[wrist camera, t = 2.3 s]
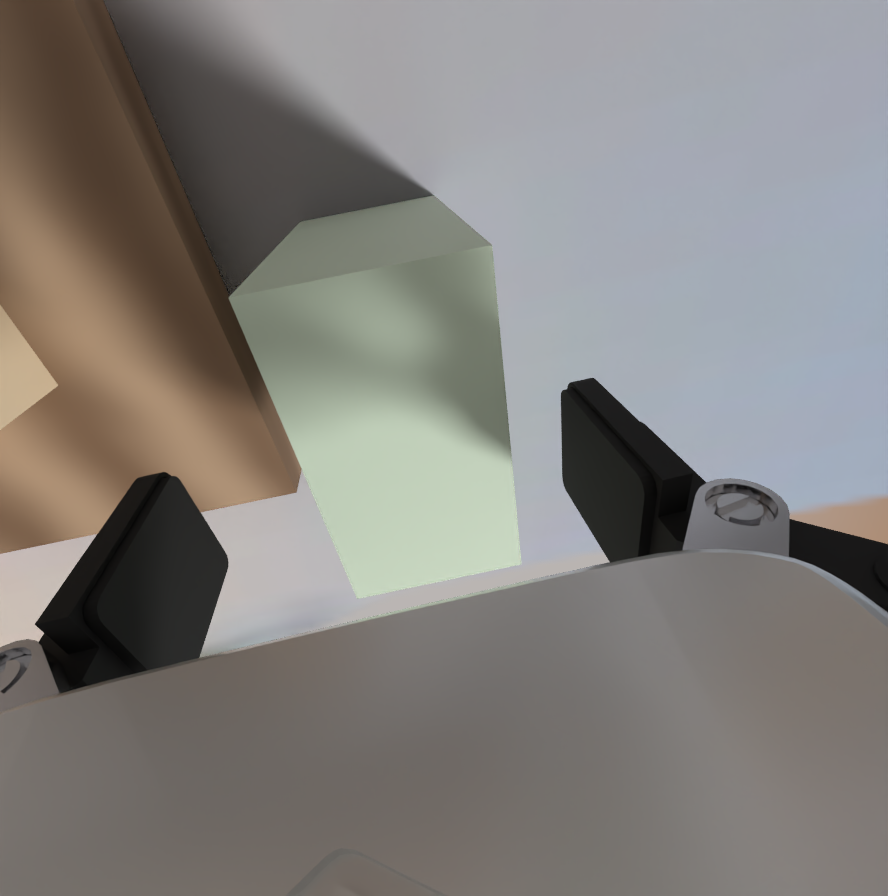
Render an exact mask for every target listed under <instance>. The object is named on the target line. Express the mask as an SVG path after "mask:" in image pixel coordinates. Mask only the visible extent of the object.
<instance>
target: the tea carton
mask: <svg viewBox="0 0 888 896" xmlns="http://www.w3.org/2000/svg"><path fill="white" fill-rule="evenodd" d="M228 298H229V301H230V303H231V305H232V308H233V310H234V312H235V315H236V317H237V319H238V322H239V324H240V326H241V329H242V331H243V333H244V336H245V338H246V340H247V343H248V345H249V347H250V350H251V352H252V354H253V357H254V359H255V361H256V364H257V366H258V368H259V371H260V373H261V375H262V378H263V380H264V382H265V385H266V387H267V389H268V392H269V394H270V396H271V399H272V401H273V403H274V406H275V408H276V410H277V413H278V415H279V417H280V420H281V422H282V424H283V427H284V429H285V431H286V434H287V436H288V438H289V441H290V443H291V445H292V448H293V450H294V452H295V455H296V457H297V459H298V462H299V464H300V466H301V469H302V471H303V473H304V476H305V478H306V480H307V483H308V485H309V487H310V490H311V492H312V494H313V497H314V499H315V501H316V504H317V506H318V508H319V511H320V513H321V515H322V518H323V520H324V522H325V525H326V527H327V529H328V532H329V534H330V536H331V539H332V541H333V543H334V546H335V548H336V550H337V553H338V555H339V557H340V560H341V562H342V564H343V567H344V569H345V571H346V574H347V576H348V578H349V581H350V583H351V585H352V588H353V590H354V592H355V595H356V597H357V599H360V598H364V597H369V596H374V595H379V594H383V593H388V592H393V591H397V590H402V589H407V588H412V587H416V586H421V585H426V584H431V583H435V582H440V581H445V580H450V579H454V578H459V577H464V576H469V575H473V574H478V573H483V572H487V571H492V570H497V569H502V568H506V567H511V566H516V565H521V555H520V544H519V533H518V522H517V511H516V500H515V489H514V479H513V468H512V457H511V446H510V435H509V424H508V414H507V403H506V392H505V381H504V370H503V359H502V348H501V338H500V327H499V316H498V305H497V294H496V283H495V273H494V262H493V251H492V245H491V244H490V243H489V242H488V241H487V240H485V239H484V238H483V237H482V236H481V235H480V234H478V233H477V232H476V231H475V230H474V229H473V228H471V227H470V226H469V225H468V224H467V223H466V222H464V221H463V220H462V219H461V218H460V217H459V216H457V215H456V214H455V213H454V212H453V211H452V210H450V209H449V208H448V207H447V206H446V205H445V204H443V203H442V202H441V201H440V200H439V199H438V198H436V197H435V196H434V195H433V196H428V197H423V198H418V199H412V200H407V201H402V202H397V203H392V204H387V205H382V206H377V207H372V208H367V209H362V210H357V211H352V212H347V213H342V214H337V215H331V216H326V217H321V218H316V219H311V220H306V221H301V222H299V224H298V225H297V226H296V227H295V228H294V229H293V230H292V231H291V232H290V233H289V234H288V235H287V236H286V237H285V238H284V239H283V240H282V241H281V243H280V244H279V245H278V246H277V247H276V248H275V249H274V250H273V251H272V252H271V253H270V254H269V255H268V256H267V257H266V258H265V259H264V260H263V262H262V263H261V264H260V265H259V266H258V267H257V268H256V269H255V270H254V271H253V272H252V273H251V274H250V275H249V276H248V277H247V278H246V280H245V281H244V282H243V283H242V284H241V285H240V286H239V287H238V288H237V289H236V290H235V291H234V292H233V293H232V294H231V295H230V296H229V297H228Z"/></svg>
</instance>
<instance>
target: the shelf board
mask: <svg viewBox="0 0 888 896" xmlns="http://www.w3.org/2000/svg"><path fill="white" fill-rule="evenodd" d="M228 297H229V294H228V292H227V290H226V287H225V285H224V283H223V280H222V278H221V276H220V273H219V271H218V269H217V266H216V264H215V262H214V259H213V257H212V255H211V252H210V250H209V247H208V245H207V243H206V240H205V238H204V236H203V233H202V231H201V229H200V226H199V224H198V222H197V219H196V217H195V215H194V212H193V210H192V208H191V205H190V203H189V201H188V198H187V196H186V194H185V191H184V189H183V187H182V184H181V182H180V179H179V177H178V175H177V172H176V170H175V168H174V165H173V163H172V161H171V158H170V156H169V154H168V151H167V149H166V147H165V144H164V142H163V140H162V137H161V135H160V133H159V130H158V128H157V126H156V123H155V121H154V119H153V116H152V114H151V111H150V109H149V107H148V104H147V102H146V100H145V97H144V95H143V93H142V90H141V88H140V86H139V83H138V81H137V79H136V76H135V74H134V72H133V69H132V67H131V65H130V62H129V60H128V58H127V55H126V53H125V51H124V48H123V46H122V44H121V41H120V39H119V36H118V34H117V32H116V29H115V27H114V25H113V22H112V20H111V18H110V15H109V13H108V11H107V8H106V6H105V4H104V1H103V0H0V305H1V306H2V308H3V309H4V311H5V312H6V313H7V315H8V316H9V318H10V319H11V320H12V322H13V323H14V325H15V326H16V327H17V329H18V330H19V331H20V333H21V334H22V336H23V337H24V338H25V340H26V341H27V343H28V344H29V345H30V347H31V348H32V349H33V351H34V352H35V354H36V355H37V356H38V358H39V359H40V361H41V362H42V363H43V365H44V366H45V368H46V369H47V370H48V372H49V373H50V374H51V376H52V377H53V379H54V380H55V381H56V383H57V384H58V386H57V387H56V388H54V389H53V390H52V391H51V392H49V393H48V394H47V395H45V396H44V397H43V398H41V399H40V400H39V401H37V402H36V403H35V404H34V405H32V406H31V407H30V408H28V409H27V410H26V411H24V412H23V413H22V414H20V415H19V416H18V417H17V418H15V419H14V420H13V421H11V422H10V423H9V424H7V425H6V426H5V427H4V428H2V429H1V430H0V554H1V553H6V552H11V551H16V550H21V549H26V548H30V547H35V546H40V545H45V544H50V543H55V542H59V541H64V540H69V539H74V538H79V537H84V536H88V535H93V534H98V533H99V531H100V530H101V528H102V527H103V525H104V524H105V523H106V521H107V520H108V518H109V517H110V515H111V514H112V512H113V511H114V510H115V508H116V507H117V505H118V504H119V502H120V501H121V500H122V498H123V497H124V495H125V494H126V492H127V491H128V489H129V488H130V487H131V485H132V484H133V482H134V481H135V480H136V479H137V478H139V477H143V476H147V475H152V474H156V473H161V472H166V473H168V474H170V475H171V476H176V477H178V478H179V479H180V481H181V482H182V484H183V485H184V487H185V488H186V490H187V492H188V493H189V495H190V496H191V498H192V500H193V501H194V503H195V505H196V506H197V508H198V509H199V511H200V512H204V511H209V510H214V509H219V508H224V507H228V506H233V505H238V504H243V503H248V502H252V501H257V500H262V499H267V498H272V497H277V496H281V495H286V494H291V493H296V492H297V487H298V483H299V478H300V474H301V466H300V464H299V462H298V459H297V457H296V455H295V452H294V450H293V448H292V445H291V443H290V441H289V438H288V436H287V434H286V431H285V429H284V427H283V424H282V422H281V420H280V417H279V415H278V413H277V410H276V408H275V406H274V403H273V401H272V399H271V396H270V394H269V392H268V389H267V387H266V385H265V382H264V380H263V378H262V375H261V373H260V371H259V368H258V366H257V364H256V361H255V359H254V357H253V354H252V352H251V350H250V347H249V345H248V343H247V340H246V338H245V336H244V333H243V331H242V329H241V326H240V324H239V322H238V319H237V317H236V315H235V312H234V310H233V308H232V305H231V303H230V301H229V298H228Z"/></svg>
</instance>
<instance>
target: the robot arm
mask: <svg viewBox="0 0 888 896" xmlns="http://www.w3.org/2000/svg"><path fill="white" fill-rule="evenodd" d="M561 424H562V477H563V483H564V486H565V489H566V491H567V493H568V494H569V496H570V498H571V499H572V501H573V503H574V504H575V506H576V507H577V509H578V511H579V512H580V514H581V516H582V517H583V519H584V521H585V522H586V524H587V525H588V527H589V529H590V530H591V532H592V534H593V535H594V537H595V539H596V540H597V542H598V543H599V545H600V547H601V548H602V550H603V552H604V553H605V555H606V557H607V558H608V560H609V561H610V563H605V564H600V565H595V566H590V567H586V568H582V569H577V570H573V571H569V572H564V573H560V574H555V575H550V576H546V577H541V578H537V579H532V580H528V581H524V582H519V583H515V584H511V585H506V586H502V587H498V588H493V589H489V590H485V591H480V592H476V593H472V594H468V595H463V596H459V597H454V598H450V599H446V600H441V601H437V602H432V603H428V604H424V605H420V606H416V607H411V608H407V609H403V610H398V611H394V612H390V613H386V614H381V615H377V616H373V617H369V618H364V619H360V620H356V621H352V622H347V623H343V624H339V625H335V626H331V627H326V628H322V629H318V630H314V631H309V632H305V633H301V634H297V635H292V636H288V637H284V638H280V639H276V640H272V641H267V642H263V643H259V644H255V645H251V646H247V647H243V648H238V649H234V650H230V651H226V652H222V653H218V654H214V655H209V656H205V657H201V658H199V657H200V653H201V650H202V647H203V644H204V641H205V638H206V635H207V632H208V629H209V625H210V622H211V619H212V616H213V613H214V610H215V607H216V604H217V601H218V597H219V594H220V591H221V588H222V585H223V582H224V579H225V576H226V573H227V569H228V558H227V555H226V553H225V551H224V549H223V548H222V546H221V545H220V543H219V541H218V540H217V538H216V537H215V535H214V533H213V532H212V530H211V529H210V527H209V525H208V524H207V522H206V521H205V519H204V517H203V516H202V514H201V513H200V511H199V509H198V508H197V506H196V505H195V503H194V501H193V500H192V498H191V496H190V495H189V493H188V492H187V490H186V488H185V487H184V485H183V484H182V482H181V481H180V479H179V478H178V477H176V476H171V475H170V474H168V473H166V472H161V473H156V474H152V475H147V476H143V477H139V478H137V479H136V480H135V481H134V482H133V484H132V485H131V487H130V488H129V489H128V491H127V492H126V494H125V495H124V497H123V498H122V500H121V501H120V502H119V504H118V505H117V507H116V508H115V510H114V511H113V512H112V514H111V515H110V517H109V518H108V520H107V521H106V523H105V524H104V525H103V527H102V528H101V530H100V531H99V533H98V534H97V536H96V537H95V538H94V540H93V541H92V543H91V544H90V546H89V547H88V549H87V550H86V551H85V553H84V554H83V556H82V557H81V559H80V560H79V562H78V563H77V564H76V566H75V567H74V569H73V570H72V572H71V573H70V574H69V576H68V577H67V579H66V580H65V582H64V583H63V585H62V586H61V587H60V589H59V590H58V592H57V593H56V595H55V596H54V598H53V599H52V600H51V602H50V603H49V605H48V606H47V608H46V609H45V611H44V612H43V613H42V615H41V616H40V618H39V619H38V621H37V622H36V623H35V625H36V626H37V627H38V628H39V629H40V630H42V631H43V632H44V635H43V636H42V638H41V639H40V641H39V642H37V641H35V640H29V639H26V640H20V641H15V642H13V643H10V644H7V645H5V646H2V647H0V896H888V544H885V543H881V542H877V541H873V540H869V539H865V538H862V537H858V536H854V535H850V534H846V533H842V532H838V531H834V530H830V529H826V528H822V527H818V526H815V525H811V524H807V523H803V522H799V521H795V520H791V519H789V516H790V514H789V510H788V506H787V504H786V503H785V502H784V500H783V499H782V498H781V497H780V496H779V495H777V494H776V493H775V492H773V491H772V490H770V489H768V488H766V487H764V486H762V485H760V484H757V483H754V482H750V481H746V480H740V479H731V478H729V479H717V480H713V481H710V482H707V483H706V482H705V481H704V480H703V479H702V478H701V477H700V476H699V475H698V474H697V473H696V472H695V471H694V470H692V469H691V468H690V467H689V466H688V465H687V464H686V463H685V462H684V461H683V460H682V459H681V458H680V457H679V456H678V455H677V454H676V453H675V452H674V451H672V450H671V449H670V448H669V447H668V446H667V445H666V444H665V443H664V442H663V441H662V440H661V439H660V438H659V437H658V436H657V435H656V434H655V433H654V432H652V431H651V430H650V429H649V428H648V427H647V426H646V425H645V424H643V423H642V422H639V421H638V420H637V419H636V418H635V417H634V416H633V415H632V414H631V413H630V412H629V411H628V410H627V409H626V408H625V407H624V406H623V405H622V404H621V403H620V402H618V401H617V400H616V399H615V398H614V397H613V396H612V395H611V394H610V393H609V392H608V391H607V390H606V389H605V388H604V387H603V386H602V385H601V384H600V383H599V382H598V381H597V380H596V379H594V378H589V379H585V380H580V381H576V382H571V383H569V384H568V388H567V389H566V390H563V391H562V393H561Z"/></svg>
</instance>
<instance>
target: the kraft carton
mask: <svg viewBox="0 0 888 896" xmlns="http://www.w3.org/2000/svg"><path fill="white" fill-rule="evenodd" d="M57 386H58V384H57V383H56V381H55V380H54V379H53V377H52V376H51V374H50V373H49V372H48V370H47V369H46V368H45V366H44V365H43V363H42V362H41V361H40V359H39V358H38V356H37V355H36V354H35V352H34V351H33V349H32V348H31V347H30V345H29V344H28V343H27V341H26V340H25V338H24V337H23V336H22V334H21V333H20V331H19V330H18V329H17V327H16V326H15V325H14V323H13V322H12V320H11V319H10V318H9V316H8V315H7V313H6V312H5V311H4V309H3V308H2V306H1V305H0V430H1V429H2V428H4V427H5V426H6V425H7V424H9V423H10V422H11V421H13V420H14V419H15V418H17V417H18V416H19V415H20V414H22V413H23V412H24V411H26V410H27V409H28V408H30V407H31V406H32V405H34V404H35V403H36V402H37V401H39V400H40V399H41V398H43V397H44V396H45V395H47V394H48V393H49V392H51V391H52V390H53V389H54V388H56V387H57Z"/></svg>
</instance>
